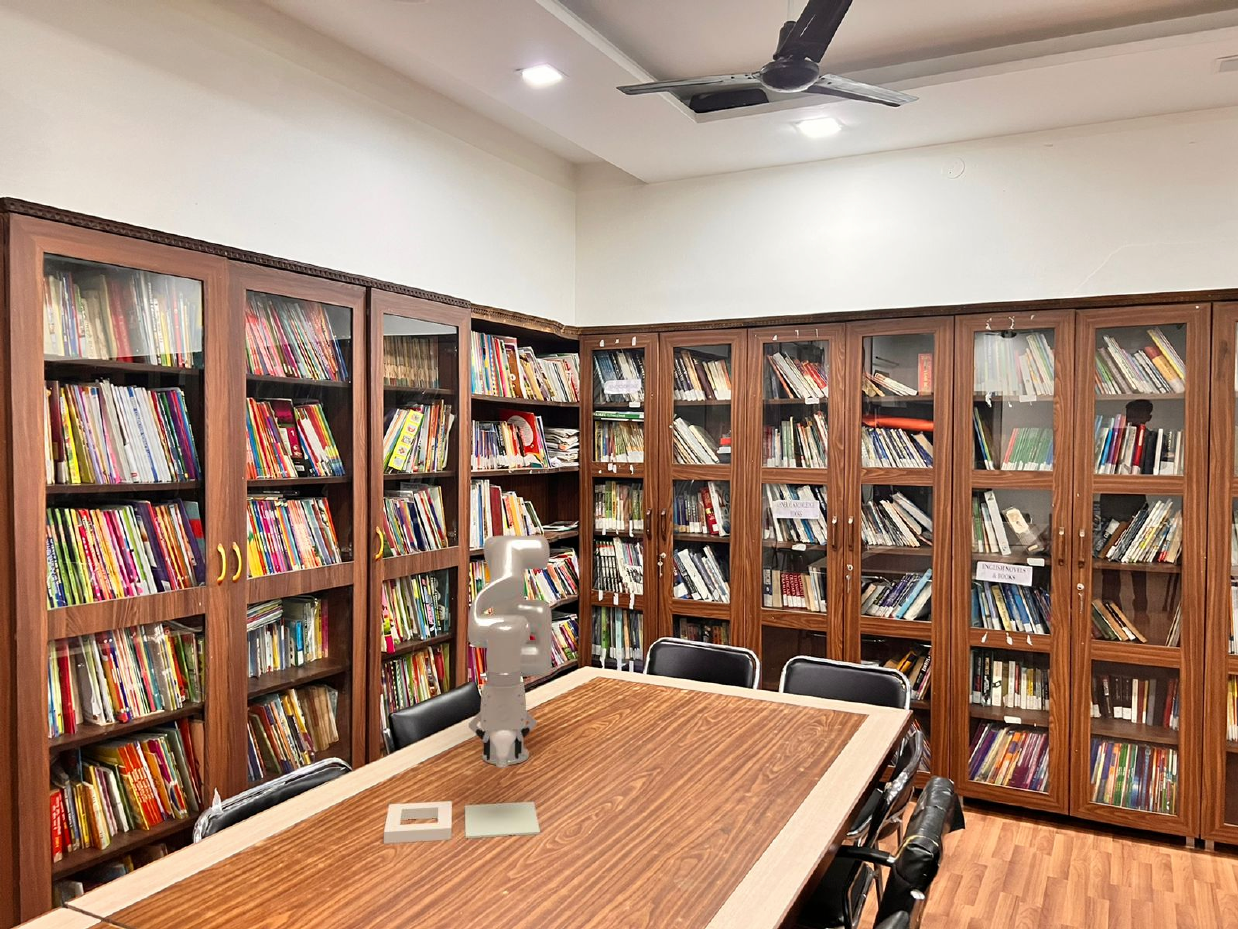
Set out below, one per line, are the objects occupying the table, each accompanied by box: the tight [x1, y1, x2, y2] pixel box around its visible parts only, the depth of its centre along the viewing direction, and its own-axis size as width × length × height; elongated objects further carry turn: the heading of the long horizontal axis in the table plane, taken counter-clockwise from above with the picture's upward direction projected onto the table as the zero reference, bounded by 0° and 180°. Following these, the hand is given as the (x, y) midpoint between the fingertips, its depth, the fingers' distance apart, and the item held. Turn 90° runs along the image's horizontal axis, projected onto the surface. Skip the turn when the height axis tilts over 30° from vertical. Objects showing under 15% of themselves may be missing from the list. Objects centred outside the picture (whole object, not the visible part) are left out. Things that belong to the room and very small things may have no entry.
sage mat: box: [464, 801, 541, 839], centre depth 195 cm, size 16×16×1 cm
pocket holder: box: [383, 800, 453, 845], centre depth 191 cm, size 14×14×2 cm
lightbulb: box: [489, 730, 517, 769], centre depth 194 cm, size 6×6×11 cm
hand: (502, 756), depth 194 cm, fingers closed on lightbulb, 5 cm apart
